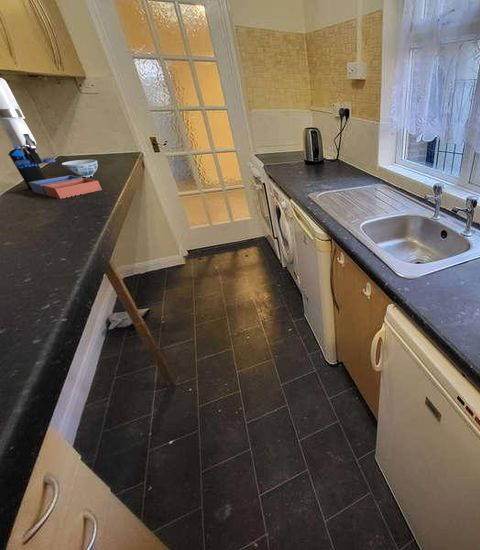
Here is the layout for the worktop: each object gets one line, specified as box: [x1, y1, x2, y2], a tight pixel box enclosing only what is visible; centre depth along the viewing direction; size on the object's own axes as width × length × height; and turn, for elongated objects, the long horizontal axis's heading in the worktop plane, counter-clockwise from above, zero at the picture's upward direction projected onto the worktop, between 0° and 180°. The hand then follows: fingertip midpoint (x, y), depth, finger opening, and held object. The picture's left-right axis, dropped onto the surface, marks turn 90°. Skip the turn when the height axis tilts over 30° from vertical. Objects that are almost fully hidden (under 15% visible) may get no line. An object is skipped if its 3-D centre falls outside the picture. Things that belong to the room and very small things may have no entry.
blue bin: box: [29, 174, 83, 196], centre depth 144 cm, size 17×11×5 cm, turn 155°
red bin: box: [43, 177, 103, 200], centre depth 139 cm, size 17×11×5 cm, turn 155°
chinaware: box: [61, 159, 99, 178], centre depth 165 cm, size 15×15×8 cm
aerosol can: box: [7, 144, 47, 190], centre depth 142 cm, size 8×8×20 cm
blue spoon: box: [15, 157, 56, 166], centre depth 125 cm, size 12×4×2 cm, turn 154°
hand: (35, 163), depth 125 cm, fingers closed on blue spoon, 2 cm apart
